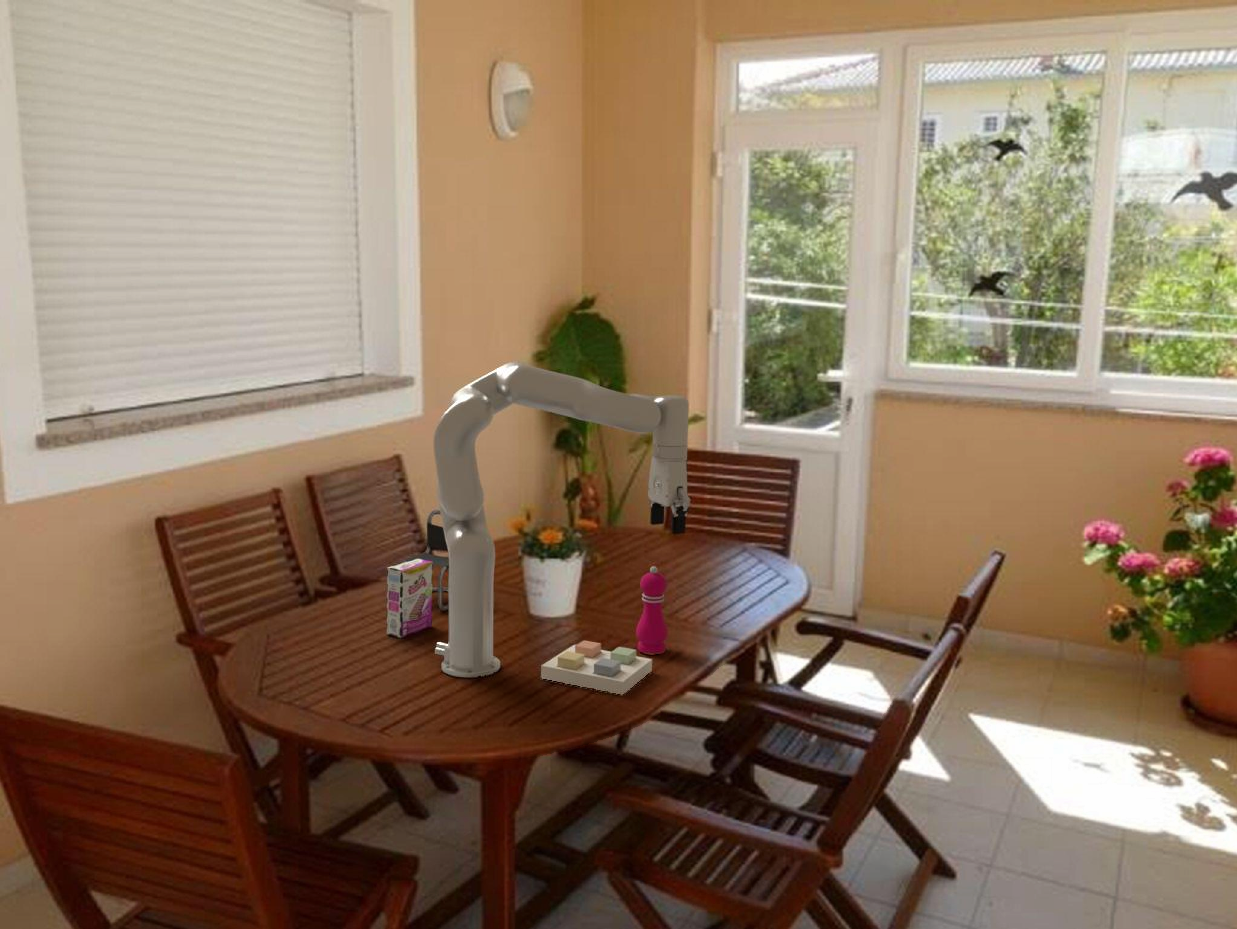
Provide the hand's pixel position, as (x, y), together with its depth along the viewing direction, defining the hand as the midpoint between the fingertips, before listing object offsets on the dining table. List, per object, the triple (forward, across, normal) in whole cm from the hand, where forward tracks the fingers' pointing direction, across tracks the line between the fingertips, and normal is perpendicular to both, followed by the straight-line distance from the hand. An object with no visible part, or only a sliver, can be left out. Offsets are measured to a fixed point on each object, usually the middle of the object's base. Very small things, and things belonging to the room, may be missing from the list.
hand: (667, 528), depth 239 cm
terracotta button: (+27, -1, -18) cm, 33 cm away
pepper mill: (+30, -4, -1) cm, 30 cm away
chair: (+30, -59, -35) cm, 75 cm away
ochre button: (+27, +4, -24) cm, 37 cm away
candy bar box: (+30, -38, -48) cm, 68 cm away
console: (+30, +5, -19) cm, 35 cm away
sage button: (+27, +6, -13) cm, 30 cm away
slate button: (+27, +11, -19) cm, 35 cm away
